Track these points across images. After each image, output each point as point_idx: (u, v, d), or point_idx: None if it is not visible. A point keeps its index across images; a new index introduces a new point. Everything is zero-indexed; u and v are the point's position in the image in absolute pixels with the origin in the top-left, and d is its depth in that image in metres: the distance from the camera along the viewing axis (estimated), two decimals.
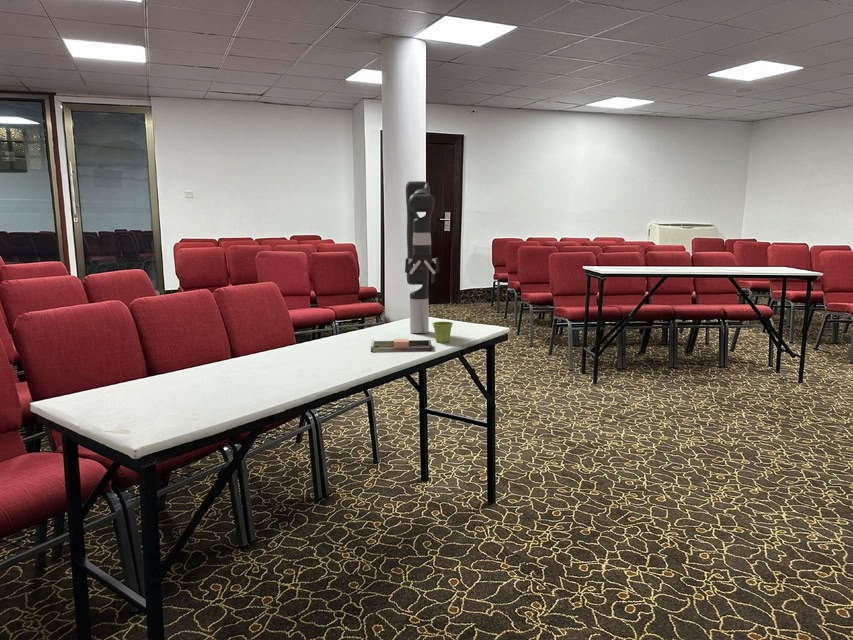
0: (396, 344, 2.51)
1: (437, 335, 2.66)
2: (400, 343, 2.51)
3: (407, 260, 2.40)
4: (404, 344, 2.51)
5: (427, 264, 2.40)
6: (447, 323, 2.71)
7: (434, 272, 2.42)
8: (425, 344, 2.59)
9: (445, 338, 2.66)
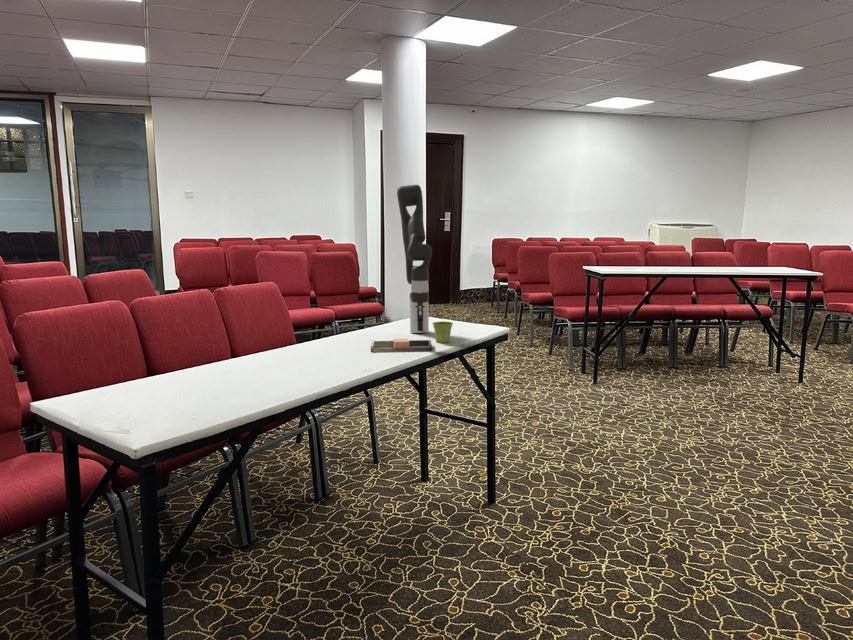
0: (397, 344, 2.51)
1: (437, 335, 2.66)
2: (401, 343, 2.51)
3: (423, 312, 2.47)
4: (405, 344, 2.51)
5: None
6: (447, 323, 2.71)
7: None
8: (425, 344, 2.59)
9: (445, 337, 2.66)
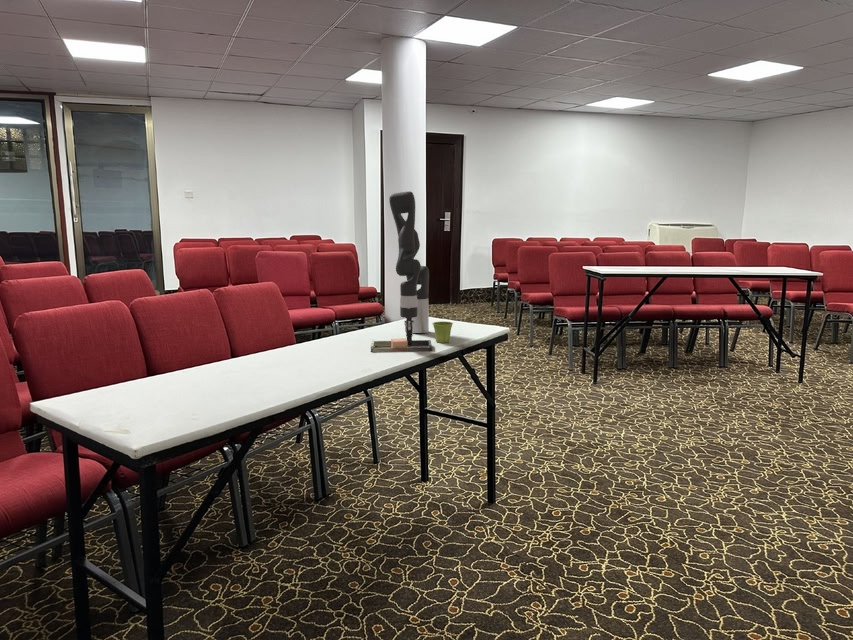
0: (395, 344, 2.50)
1: (437, 335, 2.66)
2: (399, 343, 2.51)
3: (412, 327, 2.48)
4: (403, 344, 2.51)
5: None
6: (447, 323, 2.71)
7: (411, 334, 2.55)
8: (425, 344, 2.59)
9: (445, 338, 2.66)
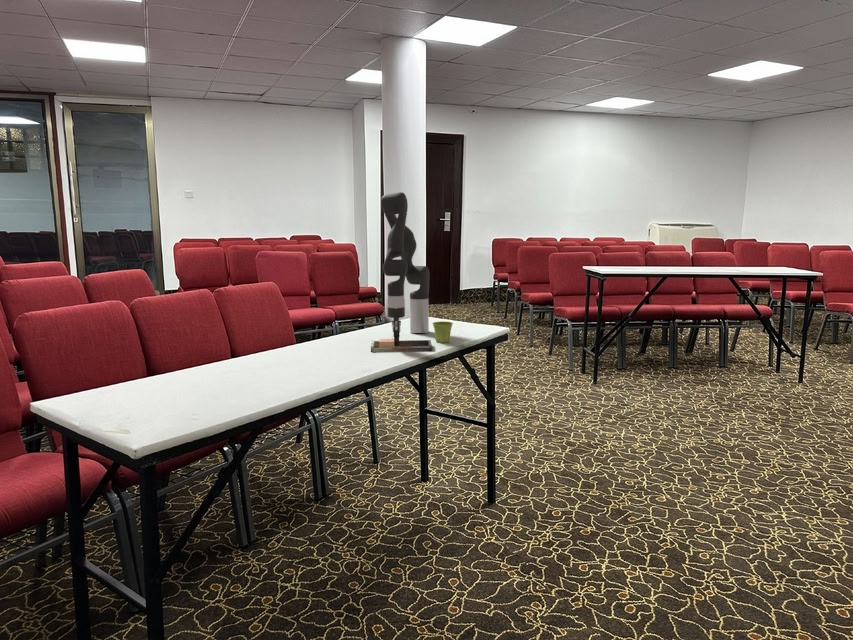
0: (381, 344, 2.51)
1: (437, 335, 2.66)
2: (385, 343, 2.51)
3: (399, 327, 2.47)
4: (389, 344, 2.51)
5: None
6: (447, 323, 2.71)
7: None
8: (425, 344, 2.59)
9: (445, 338, 2.66)
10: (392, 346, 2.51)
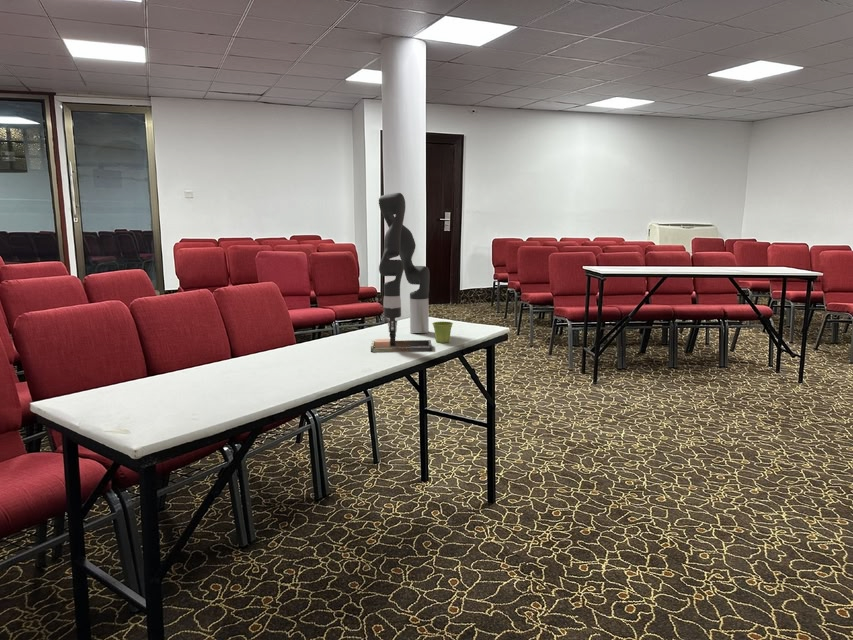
0: (377, 344, 2.51)
1: (437, 335, 2.66)
2: (381, 343, 2.51)
3: (395, 327, 2.48)
4: (385, 344, 2.51)
5: None
6: (447, 323, 2.71)
7: (395, 334, 2.55)
8: (425, 344, 2.59)
9: (445, 337, 2.66)
10: (388, 346, 2.51)
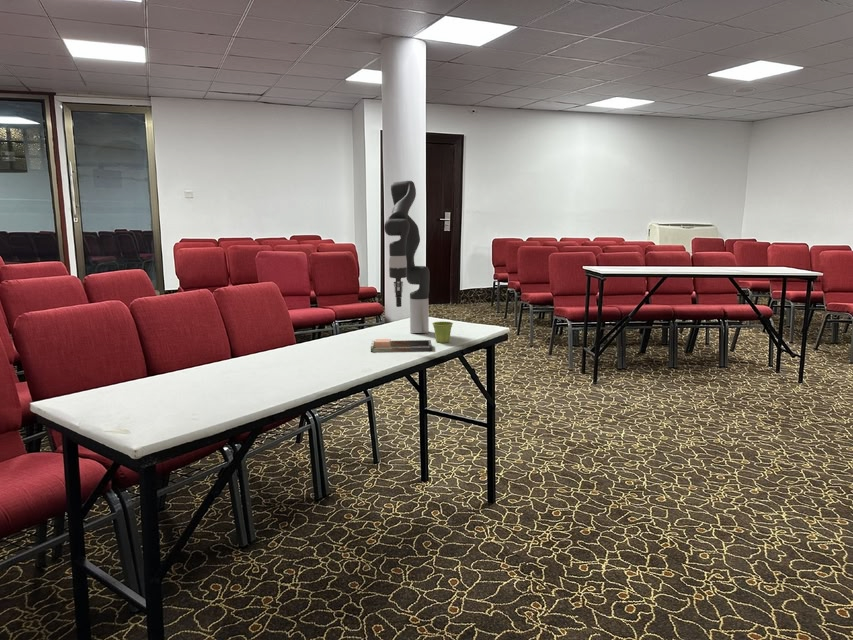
0: (377, 344, 2.51)
1: (437, 335, 2.66)
2: (381, 343, 2.51)
3: (401, 287, 2.45)
4: (385, 344, 2.51)
5: None
6: (447, 323, 2.71)
7: None
8: (425, 344, 2.59)
9: (445, 337, 2.66)
10: (387, 346, 2.51)
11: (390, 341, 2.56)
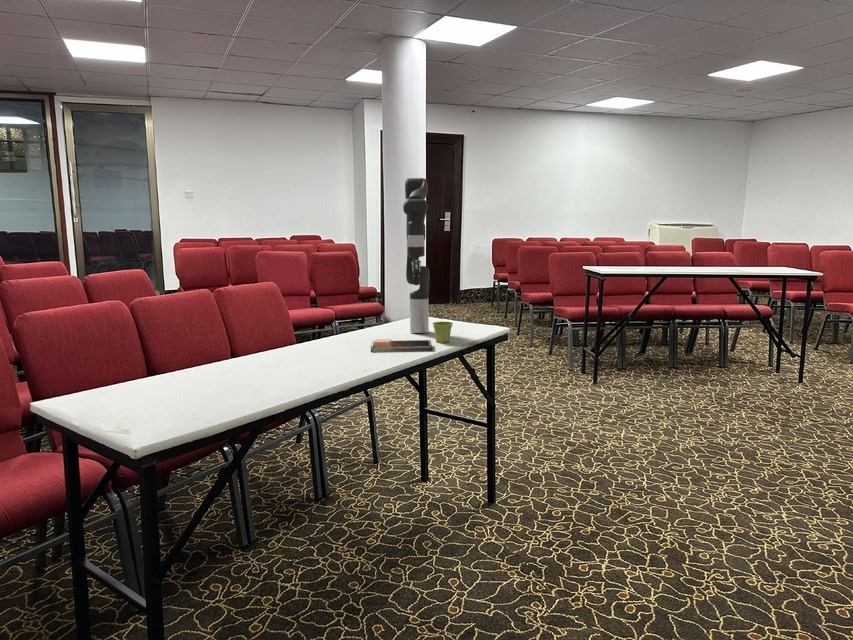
0: (377, 344, 2.51)
1: (437, 335, 2.66)
2: (380, 343, 2.51)
3: (419, 266, 2.52)
4: (384, 344, 2.51)
5: None
6: (447, 323, 2.71)
7: None
8: (425, 344, 2.59)
9: (445, 338, 2.66)
10: (387, 346, 2.51)
11: (390, 341, 2.56)
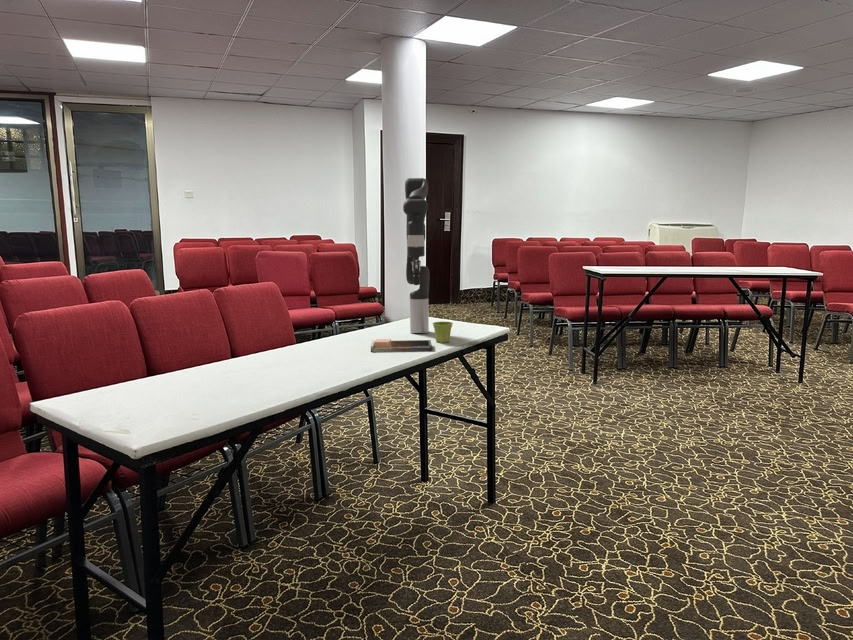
0: (376, 344, 2.51)
1: (437, 335, 2.66)
2: (380, 343, 2.51)
3: None
4: (384, 344, 2.51)
5: None
6: (447, 323, 2.71)
7: None
8: (425, 344, 2.59)
9: (445, 338, 2.66)
10: (387, 346, 2.51)
11: (390, 341, 2.56)
